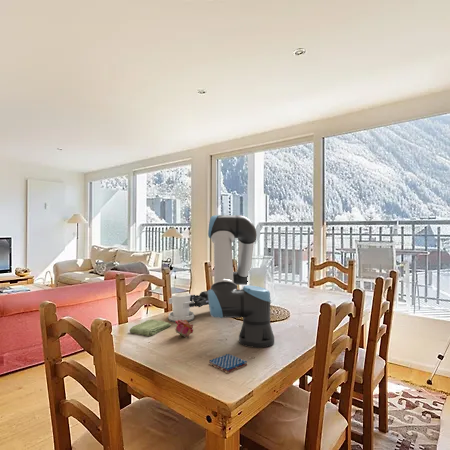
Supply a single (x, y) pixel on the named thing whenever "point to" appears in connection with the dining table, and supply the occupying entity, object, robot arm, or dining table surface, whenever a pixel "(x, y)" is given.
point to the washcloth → (150, 327)
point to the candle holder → (180, 304)
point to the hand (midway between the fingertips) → (176, 303)
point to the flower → (183, 328)
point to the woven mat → (228, 363)
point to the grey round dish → (188, 318)
